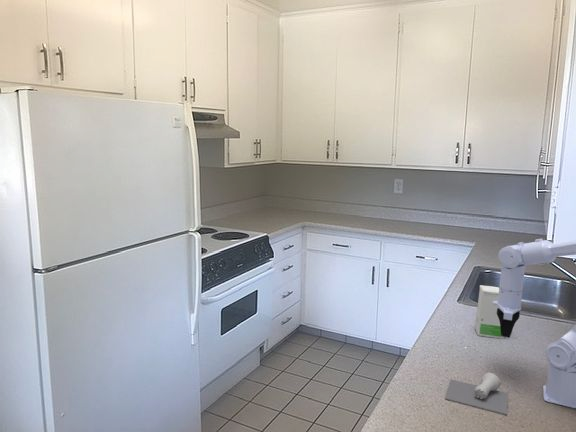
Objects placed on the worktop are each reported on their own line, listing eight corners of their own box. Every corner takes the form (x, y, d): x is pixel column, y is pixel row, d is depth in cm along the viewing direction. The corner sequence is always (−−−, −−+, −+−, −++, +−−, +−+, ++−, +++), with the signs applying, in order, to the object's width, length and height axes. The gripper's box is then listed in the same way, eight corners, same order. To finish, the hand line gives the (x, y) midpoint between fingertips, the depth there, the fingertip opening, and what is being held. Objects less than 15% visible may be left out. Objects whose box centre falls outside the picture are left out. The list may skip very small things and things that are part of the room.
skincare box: (477, 336, 154) (481, 290, 152) (474, 328, 161) (478, 284, 158) (504, 339, 152) (509, 293, 150) (500, 331, 159) (505, 286, 156)
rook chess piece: (490, 368, 121) (477, 381, 115) (504, 382, 119) (492, 396, 113) (480, 378, 123) (467, 391, 118) (494, 392, 121) (481, 406, 116)
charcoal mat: (508, 394, 119) (508, 393, 119) (506, 415, 110) (507, 414, 110) (450, 380, 126) (450, 379, 126) (444, 399, 116) (444, 398, 116)
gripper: (496, 279, 135) (491, 324, 138) (493, 293, 123) (488, 342, 125) (523, 283, 132) (518, 328, 135) (523, 298, 119) (517, 348, 122)
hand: (505, 336), depth 130 cm, fingers closed
